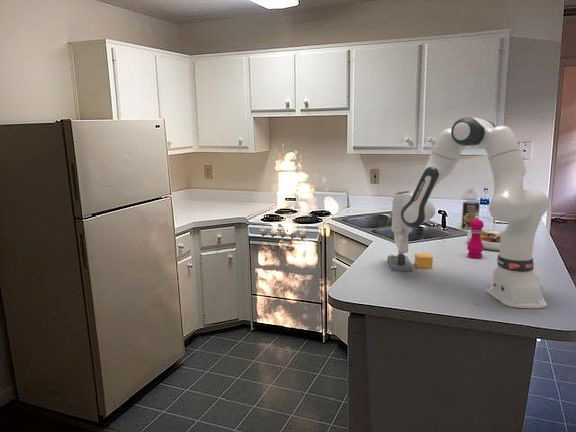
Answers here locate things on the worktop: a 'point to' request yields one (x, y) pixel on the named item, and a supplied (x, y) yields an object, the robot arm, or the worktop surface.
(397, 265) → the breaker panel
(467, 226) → the coffee box
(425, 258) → the orange block
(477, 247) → the pepper mill
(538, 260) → the worktop surface
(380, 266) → the worktop surface
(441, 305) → the worktop surface
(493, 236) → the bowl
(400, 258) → the handle
